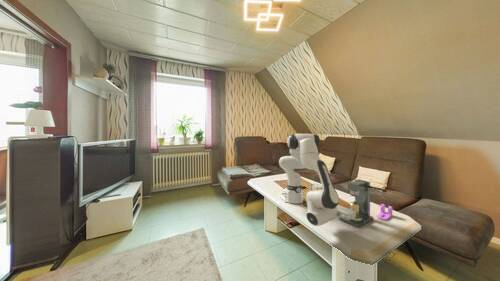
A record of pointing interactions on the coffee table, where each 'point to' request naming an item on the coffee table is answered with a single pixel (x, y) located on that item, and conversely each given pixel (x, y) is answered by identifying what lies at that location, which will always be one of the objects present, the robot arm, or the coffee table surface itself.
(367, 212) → the press
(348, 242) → the coffee table surface
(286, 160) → the robot arm
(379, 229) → the coffee table surface
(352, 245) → the coffee table surface
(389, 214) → the bracket
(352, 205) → the bottle
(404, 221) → the coffee table surface
